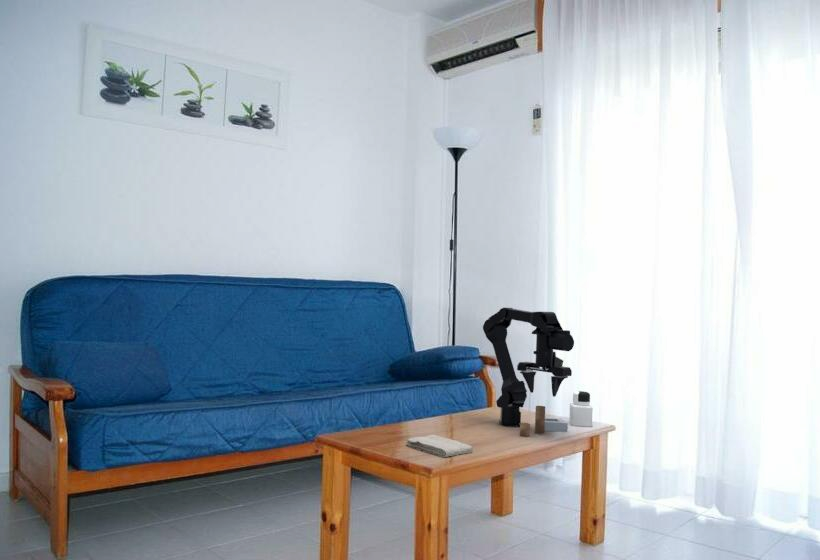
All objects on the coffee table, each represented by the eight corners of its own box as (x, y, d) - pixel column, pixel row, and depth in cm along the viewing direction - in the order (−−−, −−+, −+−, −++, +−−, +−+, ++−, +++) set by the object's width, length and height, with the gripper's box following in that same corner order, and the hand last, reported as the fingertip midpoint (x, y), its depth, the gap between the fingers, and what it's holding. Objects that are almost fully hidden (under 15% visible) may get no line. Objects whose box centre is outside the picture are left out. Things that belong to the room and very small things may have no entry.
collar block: (541, 430, 222) (541, 422, 222) (535, 425, 231) (536, 417, 231) (567, 431, 222) (567, 423, 222) (560, 426, 231) (561, 418, 231)
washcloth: (431, 442, 201) (432, 432, 201) (474, 454, 187) (475, 443, 187) (403, 446, 193) (403, 436, 193) (445, 459, 179) (446, 448, 179)
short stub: (520, 436, 211) (521, 424, 211) (519, 434, 215) (519, 422, 215) (530, 437, 211) (531, 424, 212) (528, 435, 215) (529, 422, 215)
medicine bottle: (588, 423, 240) (589, 390, 240) (592, 427, 233) (593, 393, 233) (569, 422, 240) (570, 389, 241) (572, 425, 233) (573, 392, 234)
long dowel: (535, 434, 216) (536, 407, 217) (533, 432, 220) (534, 405, 220) (545, 434, 217) (546, 407, 217) (543, 432, 220) (544, 405, 220)
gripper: (581, 350, 218) (580, 396, 217) (536, 345, 232) (534, 389, 231) (562, 351, 210) (560, 399, 210) (517, 346, 224) (515, 391, 224)
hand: (542, 394), depth 219 cm, fingers open, 9 cm apart
